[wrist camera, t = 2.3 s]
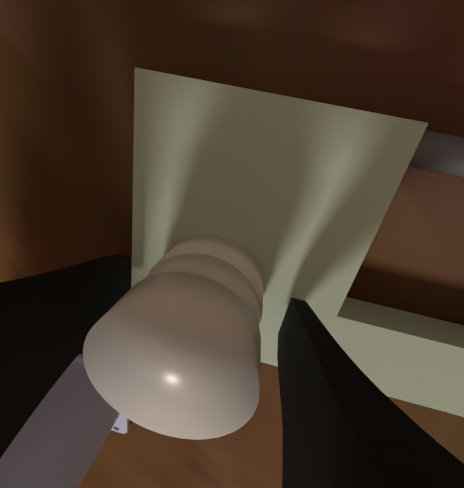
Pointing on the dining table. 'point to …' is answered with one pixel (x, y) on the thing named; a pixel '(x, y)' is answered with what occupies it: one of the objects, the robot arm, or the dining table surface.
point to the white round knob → (184, 343)
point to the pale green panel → (294, 213)
